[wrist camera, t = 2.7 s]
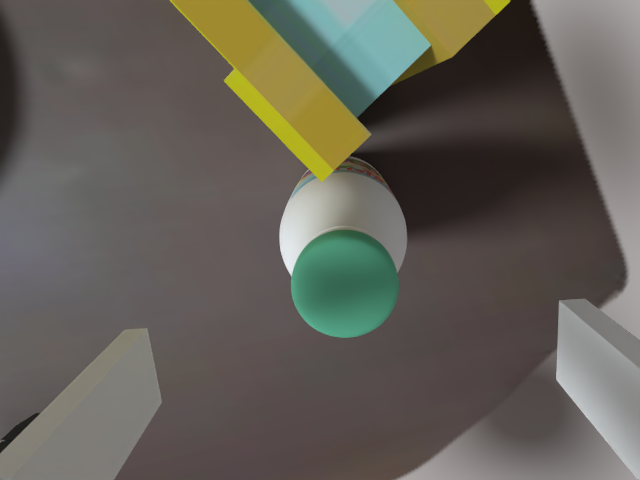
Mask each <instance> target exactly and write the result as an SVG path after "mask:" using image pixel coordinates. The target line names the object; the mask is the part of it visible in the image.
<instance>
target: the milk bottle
mask: <svg viewBox="0 0 640 480" xmlns="http://www.w3.org/2000/svg"><path fill="white" fill-rule="evenodd" d="M406 247H407V229H406V222H405V219H404V215H403V213H402V210H401V208H400V206H399V203H398V201H397V200H396V198H395V196H394V194H393V193H392V191H391V189H390V188H389V186H388V185H387V183H386V182H385V180H384V179H383V177H382V176H381V175H380V173H379V172H378V171H377V170H376V169H375V168H374V167H372V166H371V165H370V164H368V163H367V162H365V161H363V160H361V159H358V158H355V157H351V156H349V157H348V158H347V159H345V160H344V161H343V162H342V163H341V164H340V165H339V166H338V167H337V168H336V169H335V170H334V171H333V172H332V173H331V174H330V175H329V176H328V177H327V178H326V179H325V180H324V181H323V182H321V181H320V180H319V179H318V178H317V177H316V176H315V175H314V174H313V173H312V172H311V171H310V170H309V169H308V170H307V171H306V173H305V174H304V175H303V176H302V178H301V179H300V181H299V183H298V184H297V186H296V188H295V190H294V191H293V193H292V195H291V197H290V199H289V201H288V204H287V206H286V208H285V211H284V214H283V217H282V221H281V225H280V249H281V254H282V257H283V260H284V263H285V265H286V267H287V269H288V271H289V273H290V274H291V276H292V279H291V292H292V297H293V301H294V304H295V306H296V308H297V310H298V312H299V313H300V315H301V316H302V317H303V319H304V320H305V321H306V322H307V323H308V324H309V325H310V326H312V327H313V328H315V329H316V330H318V331H320V332H322V333H324V334H327V335H330V336H334V337H343V338H347V337H356V336H360V335H363V334H366V333H368V332H370V331H372V330H374V329H376V328H377V327H378V326H380V325H381V324H382V323H383V322H384V321H385V320H386V319H387V318H388V316H389V315H390V313H391V312H392V310H393V308H394V306H395V303H396V300H397V297H398V291H399V280H398V275H397V273H398V271H399V269H400V267H401V265H402V262H403V259H404V256H405V252H406Z"/></svg>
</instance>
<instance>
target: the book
mask: <svg viewBox="0 0 640 480" xmlns="http://www.w3.org/2000/svg"><path fill="white" fill-rule="evenodd" d="M170 1H171V2H172V3H173V4H174V6H175V7H176V8H177V9H178V10H179V11H180V12H181V13H182V14H183V15H184V16H185V17H186V18H187V19H188V20H189V21H190V22H191V23H192V24H193V25H194V26H195V28H196V29H197V30H198V31H199V32H200V33H201V34H202V35H203V36H204V37H205V38H206V39H207V40H208V41H209V42H210V43H211V44H212V45H213V46H214V47H215V48H216V50H217V51H218V52H219V53H220V54H221V55H222V56H223V57H224V58H225V59H226V60H227V61H228V62H229V63H230V64H231V65H232V66H233V67H234V68H235V69H234V70H233V71H232V72H231V73H230V74H229V75H228V77H227V78H226V79H225V80H224V82H225V83H226V84H227V85H228V86H229V87H230V88H231V89H232V90H233V91H234V92H235V93H236V94H237V95H238V96H239V97H240V98H241V99H242V100H243V101H244V102H245V103H246V104H247V105H248V106H249V108H250V109H251V110H252V111H253V112H254V113H255V114H256V115H257V116H258V117H259V118H260V119H261V120H262V121H263V122H264V123H265V124H266V125H267V126H268V127H269V128H270V129H271V130H272V131H273V132H274V133H275V134H276V135H277V137H278V138H279V139H280V140H281V141H282V142H283V143H284V144H285V145H286V146H287V147H288V148H289V149H290V150H291V151H292V152H293V153H294V154H295V155H296V156H297V157H298V158H299V159H300V160H301V161H302V162H303V163H304V164H305V166H306V167H307V168H308V169H309V170H310V171H311V172H312V173H313V174H314V175H315V176H316V177H317V178H318V179H319V180H320V181H321V182H323V181H324V180H325V179H326V178H327V177H328V176H329V175H330V174H331V173H332V172H333V171H334V170H335V169H336V168H337V167H338V166H339V165H340V164H341V163H342V162H343V161H344V160H345V159H347V158H348V157H349V156H350V155H351V154H352V153H353V152H354V151H355V150H356V149H357V148H358V147H359V146H360V145H361V144H362V143H363V142H364V141H365V140H366V139H367V138H368V137H369V136H370V135H372V134H371V133H370V132H369V131H368V130H367V129H366V128H365V127H364V126H363V125H362V123H361V122H360V121H359V120H358V119H357V117H358V116H359V115H360V114H361V113H362V112H363V111H364V110H365V109H366V108H367V107H368V106H370V105H371V104H372V103H373V102H374V101H375V100H376V99H377V98H378V97H379V96H380V95H381V94H382V93H383V92H384V91H385V90H386V89H387V88H388V87H390V86H392V85H394V84H396V83H398V82H400V81H403V80H405V79H407V78H409V77H411V76H413V75H415V74H417V73H419V72H422V71H424V70H426V69H428V68H430V67H432V66H434V65H436V64H438V63H440V62H443V61H445V60H447V59H449V58H451V57H453V56H454V55H455V54H456V53H457V52H458V51H459V50H460V49H461V48H462V47H463V46H464V45H465V44H466V43H467V42H468V41H469V40H470V39H471V38H473V37H474V36H475V35H476V34H477V33H478V32H479V31H480V30H481V29H482V28H483V27H484V26H485V25H486V24H487V23H488V22H489V21H490V20H491V19H492V18H493V17H494V16H496V15H497V14H498V13H499V12H500V11H501V10H502V9H503V8H504V7H505V6H506V5H507V4H508V3H509V2H510V0H170Z"/></svg>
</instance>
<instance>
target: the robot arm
mask: <svg viewBox="0 0 640 480" xmlns="http://www.w3.org/2000/svg"><path fill="white" fill-rule="evenodd" d="M556 380H557V381H558V382H559V384H560V385H561V386H562V387H563V389H564V390H565V391H566V392H567V393H568V395H569V396H570V397H571V398H572V400H573V401H574V402H575V403H576V405H577V406H578V407H579V408H580V409H581V411H582V412H583V413H584V414H585V416H586V417H587V418H588V419H589V420H590V422H591V423H592V424H593V425H594V427H595V428H596V429H597V430H598V432H599V433H600V434H601V435H602V436H603V438H604V439H605V440H606V441H607V443H608V444H609V445H610V446H611V448H612V449H613V450H614V451H615V452H616V454H617V455H618V456H619V457H620V458H621V460H622V461H623V462H624V463H625V465H626V466H627V467H628V468H629V470H630V471H631V472H632V473H633V474H634V476H635V477H636V478H637V479H638V480H640V340H639V339H638V338H636V337H635V336H634V335H632V334H631V333H630V332H628V331H627V330H625V329H624V328H623V327H622V326H620V325H619V324H617V323H616V322H615V321H614V320H612V319H611V318H610V317H608V316H607V315H606V314H604V313H603V312H602V311H600V310H599V309H598V308H596V307H595V306H594V305H592V304H591V303H590V302H588V301H587V300H586V299H574V300H559V321H558V348H557V376H556ZM161 403H162V400H161V395H160V390H159V385H158V380H157V375H156V370H155V365H154V360H153V355H152V350H151V345H150V339H149V334H148V329H147V328H143V329H129V330H124V331H123V332H122V333H121V334H120V335H119V336H118V337H117V338H116V339H115V340H114V341H113V342H112V343H111V344H110V345H109V346H108V347H107V348H106V349H105V350H104V351H103V352H102V353H101V354H100V355H99V356H98V357H97V358H96V359H95V360H94V361H93V362H92V363H91V364H90V365H89V366H88V367H87V368H86V369H85V370H84V371H83V372H82V373H81V374H80V375H79V376H78V377H77V378H76V379H75V380H74V381H73V382H72V383H71V384H70V385H69V386H68V387H67V388H65V389H64V390H63V391H62V392H61V393H60V394H59V395H58V396H57V397H56V398H55V399H54V400H53V401H52V402H51V403H50V404H49V405H48V406H47V407H46V408H45V409H44V410H43V411H42V412H41V413H36V414H34V415H32V416H31V417H29V418H28V419H26V420H24V421H23V422H21V423H20V424H18V425H16V426H15V427H14V428H13V429H12V430H11V431H10V432H9V433H8V434H7V435H6V436H5V437H4V438H3V439H2V440H1V443H0V480H114V479H115V477H116V475H117V474H118V472H119V471H120V469H121V467H122V466H123V464H124V462H125V461H126V459H127V458H128V456H129V454H130V453H131V451H132V450H133V448H134V446H135V445H136V443H137V442H138V440H139V438H140V437H141V435H142V434H143V432H144V430H145V429H146V427H147V425H148V424H149V422H150V421H151V419H152V417H153V416H154V414H155V413H156V411H157V409H158V408H159V406H160V405H161Z"/></svg>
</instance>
